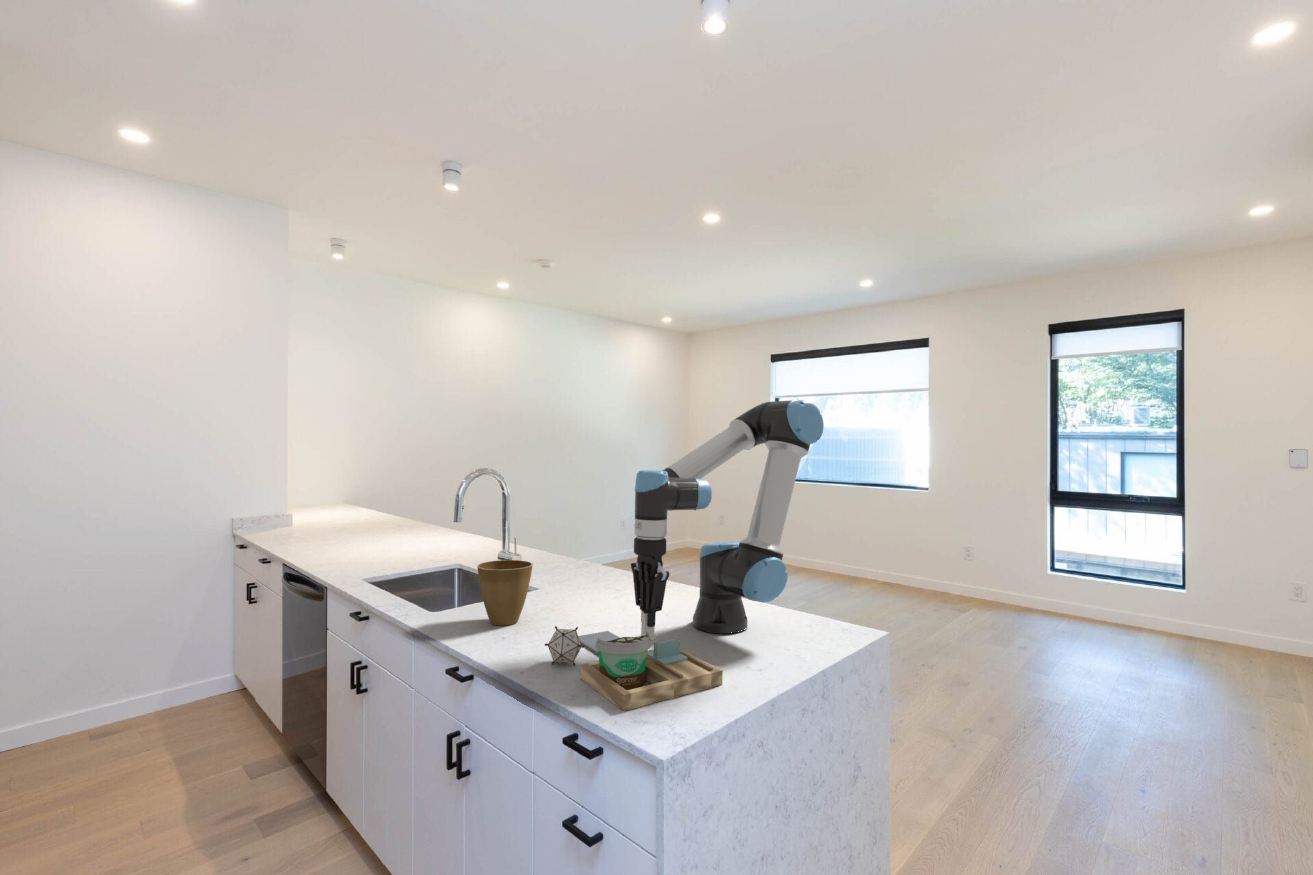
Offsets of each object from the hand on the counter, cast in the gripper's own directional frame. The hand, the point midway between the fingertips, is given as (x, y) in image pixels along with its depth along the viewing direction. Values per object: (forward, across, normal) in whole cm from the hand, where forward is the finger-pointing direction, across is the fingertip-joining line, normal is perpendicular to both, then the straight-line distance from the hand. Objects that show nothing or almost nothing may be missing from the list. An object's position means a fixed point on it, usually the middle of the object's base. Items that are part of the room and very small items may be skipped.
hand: (647, 639), depth 139 cm
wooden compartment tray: (+5, +10, -6) cm, 13 cm away
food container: (+5, +10, -12) cm, 16 cm away
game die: (+5, -8, -17) cm, 20 cm away
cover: (+2, +7, 0) cm, 8 cm away
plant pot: (+5, -46, -18) cm, 49 cm away
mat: (+5, -14, -3) cm, 16 cm away
